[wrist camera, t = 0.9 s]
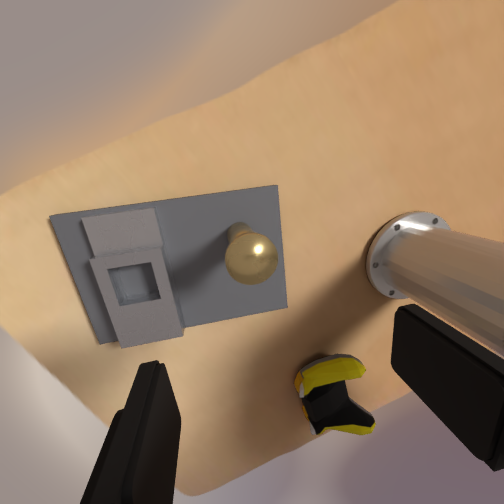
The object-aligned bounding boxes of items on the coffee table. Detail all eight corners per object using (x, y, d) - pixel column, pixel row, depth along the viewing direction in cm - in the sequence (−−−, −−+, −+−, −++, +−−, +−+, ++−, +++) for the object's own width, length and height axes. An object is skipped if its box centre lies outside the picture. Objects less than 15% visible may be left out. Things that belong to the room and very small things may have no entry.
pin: (256, 213, 28) (275, 230, 19) (260, 249, 29) (280, 280, 21) (218, 218, 27) (221, 239, 19) (224, 255, 29) (229, 289, 20)
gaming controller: (346, 336, 37) (285, 358, 36) (368, 362, 32) (297, 389, 31) (359, 402, 42) (306, 423, 41) (380, 434, 37) (320, 459, 36)
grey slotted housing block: (156, 206, 26) (150, 209, 23) (185, 324, 31) (183, 336, 28) (87, 216, 25) (74, 220, 23) (128, 335, 30) (121, 348, 27)
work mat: (275, 184, 28) (277, 185, 27) (285, 303, 33) (287, 307, 32) (55, 214, 25) (48, 216, 24) (103, 339, 30) (99, 344, 30)
